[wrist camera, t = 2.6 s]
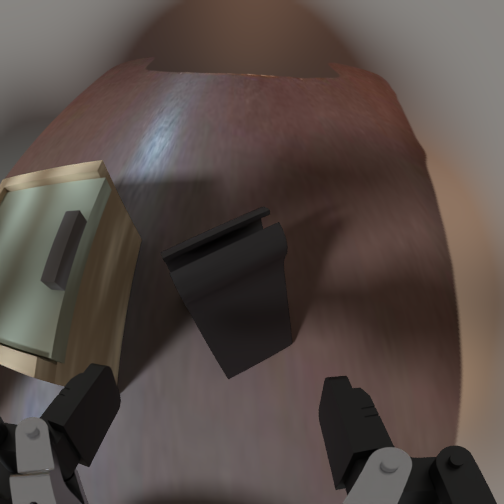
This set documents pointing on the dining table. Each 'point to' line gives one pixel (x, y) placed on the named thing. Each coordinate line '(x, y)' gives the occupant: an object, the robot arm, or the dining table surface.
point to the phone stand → (236, 289)
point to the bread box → (64, 271)
